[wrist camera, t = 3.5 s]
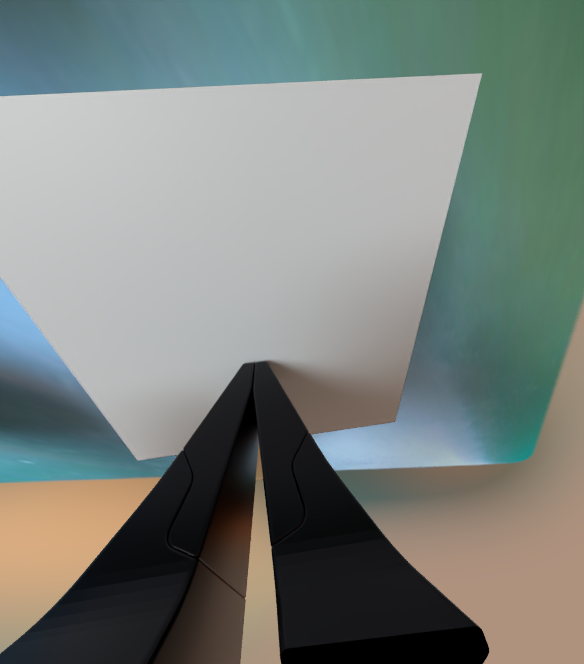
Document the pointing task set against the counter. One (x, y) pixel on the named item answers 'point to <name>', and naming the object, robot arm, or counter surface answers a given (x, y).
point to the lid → (231, 240)
